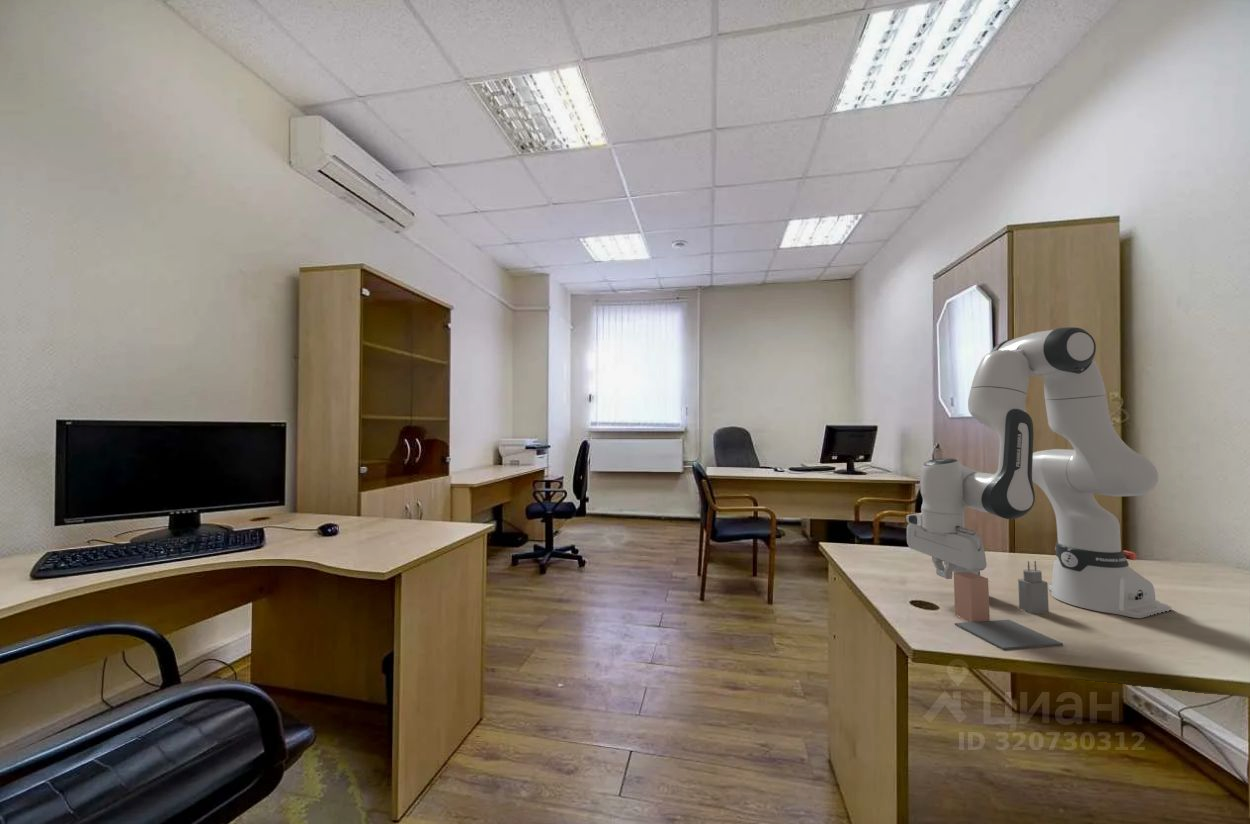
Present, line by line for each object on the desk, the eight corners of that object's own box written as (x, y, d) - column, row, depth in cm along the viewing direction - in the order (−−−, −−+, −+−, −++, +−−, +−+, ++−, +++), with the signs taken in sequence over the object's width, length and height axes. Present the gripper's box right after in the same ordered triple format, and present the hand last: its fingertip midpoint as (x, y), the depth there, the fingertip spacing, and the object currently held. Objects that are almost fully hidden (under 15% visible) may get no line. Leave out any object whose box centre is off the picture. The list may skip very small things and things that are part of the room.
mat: (1009, 621, 99) (1009, 619, 99) (1062, 645, 88) (1062, 643, 88) (954, 624, 97) (954, 623, 97) (1002, 649, 86) (1002, 647, 86)
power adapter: (1017, 608, 106) (1015, 559, 107) (1037, 607, 107) (1035, 558, 107) (1030, 613, 103) (1028, 563, 103) (1050, 612, 104) (1048, 562, 104)
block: (971, 613, 103) (970, 571, 103) (989, 622, 99) (988, 578, 99) (955, 614, 103) (953, 572, 103) (972, 623, 98) (970, 579, 99)
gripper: (993, 531, 99) (995, 592, 98) (922, 514, 119) (923, 563, 119) (968, 532, 98) (970, 593, 98) (901, 514, 118) (903, 564, 118)
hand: (944, 577), depth 108 cm, fingers closed
